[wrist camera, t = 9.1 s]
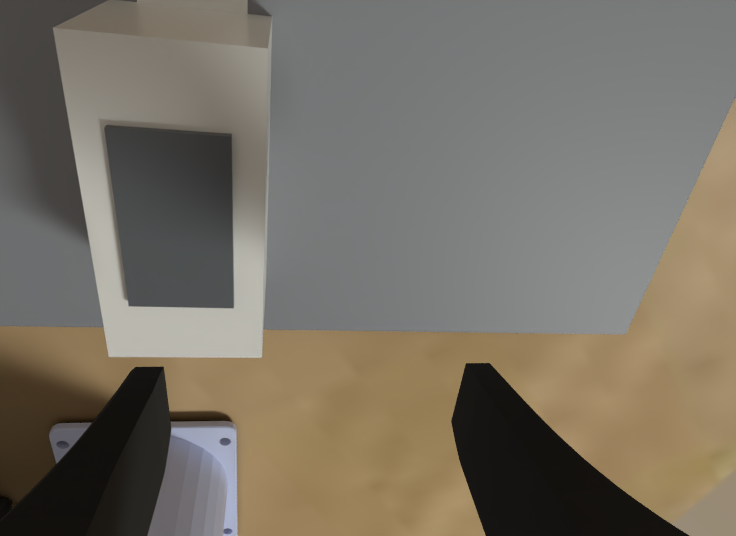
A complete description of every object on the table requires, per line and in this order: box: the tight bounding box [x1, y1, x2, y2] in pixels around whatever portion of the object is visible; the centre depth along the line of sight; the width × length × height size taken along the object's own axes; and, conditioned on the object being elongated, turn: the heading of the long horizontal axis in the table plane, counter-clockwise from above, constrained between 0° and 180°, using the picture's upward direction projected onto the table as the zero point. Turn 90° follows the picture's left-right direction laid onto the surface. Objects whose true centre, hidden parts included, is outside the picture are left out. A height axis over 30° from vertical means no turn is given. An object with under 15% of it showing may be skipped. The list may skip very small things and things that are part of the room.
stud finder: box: [53, 0, 272, 358], centre depth 16 cm, size 9×4×5 cm, turn 173°
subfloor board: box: [0, 0, 736, 334], centre depth 19 cm, size 14×26×1 cm, turn 83°
